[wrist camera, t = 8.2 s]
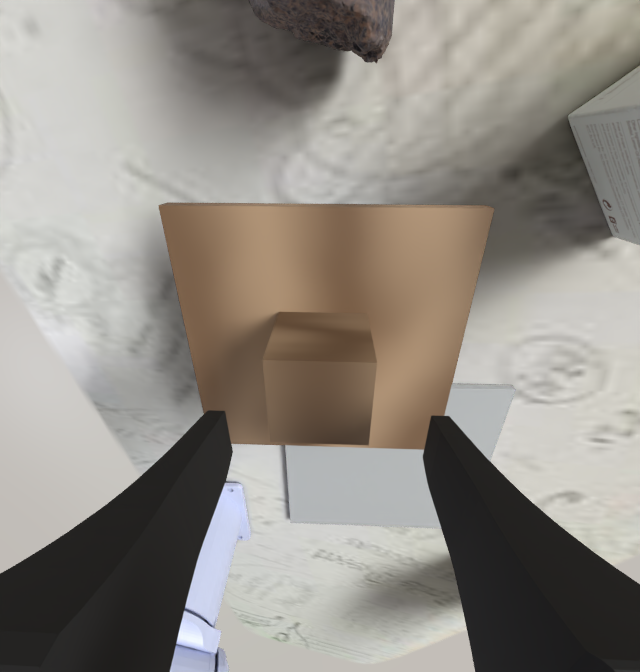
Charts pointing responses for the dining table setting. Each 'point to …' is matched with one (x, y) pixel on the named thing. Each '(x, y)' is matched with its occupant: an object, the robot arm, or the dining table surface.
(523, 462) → the dining table surface
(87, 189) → the dining table surface
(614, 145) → the supplement box
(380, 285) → the lid
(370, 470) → the mat
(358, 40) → the perforated stone tool
